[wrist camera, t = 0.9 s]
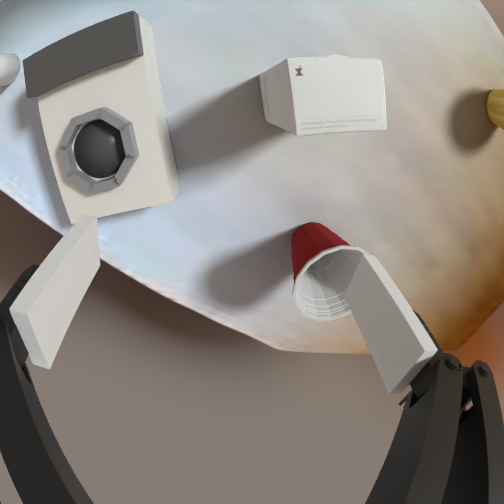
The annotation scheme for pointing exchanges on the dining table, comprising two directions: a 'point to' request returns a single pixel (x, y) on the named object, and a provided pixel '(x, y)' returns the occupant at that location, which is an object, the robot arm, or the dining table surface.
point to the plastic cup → (322, 272)
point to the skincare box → (325, 95)
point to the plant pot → (496, 107)
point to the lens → (8, 68)
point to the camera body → (105, 118)
